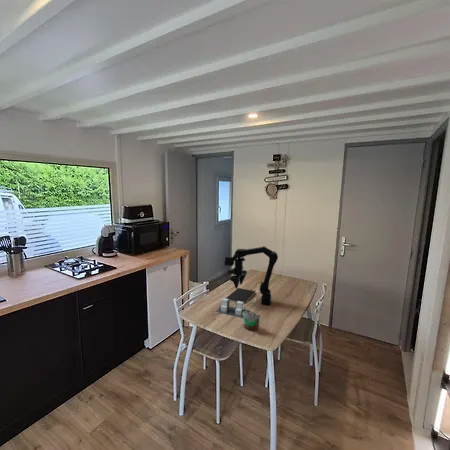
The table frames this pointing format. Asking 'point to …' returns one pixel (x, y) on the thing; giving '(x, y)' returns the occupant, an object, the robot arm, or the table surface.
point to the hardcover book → (241, 295)
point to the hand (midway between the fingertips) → (238, 286)
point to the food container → (250, 320)
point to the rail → (230, 311)
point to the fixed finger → (225, 304)
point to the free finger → (239, 308)
